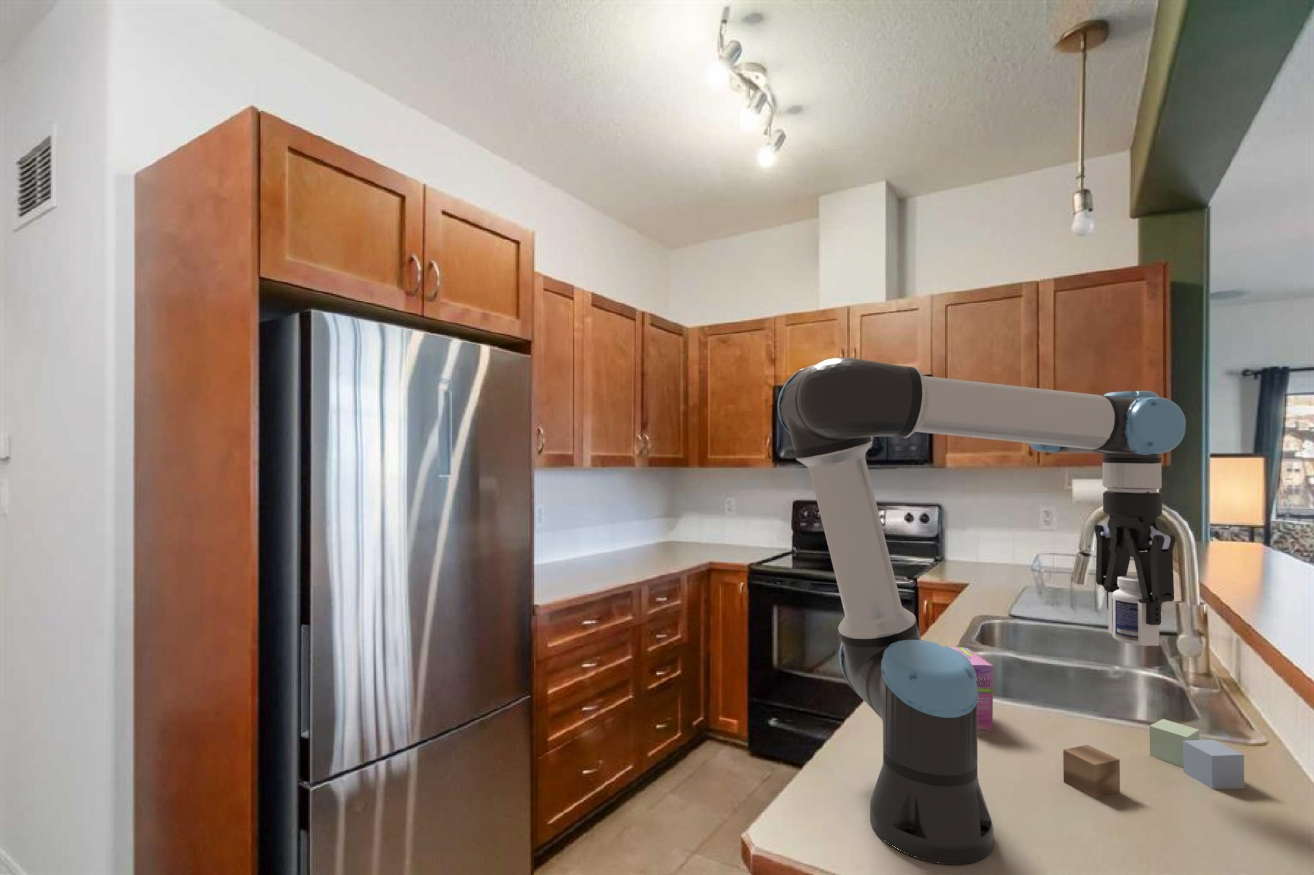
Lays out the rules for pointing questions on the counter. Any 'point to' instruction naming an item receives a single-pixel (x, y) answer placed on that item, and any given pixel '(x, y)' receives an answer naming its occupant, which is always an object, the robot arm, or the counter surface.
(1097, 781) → the walnut cube
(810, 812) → the counter surface
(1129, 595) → the pill bottle
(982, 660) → the box
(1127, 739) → the counter surface
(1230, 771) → the slate blue cube
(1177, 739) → the sage cube
